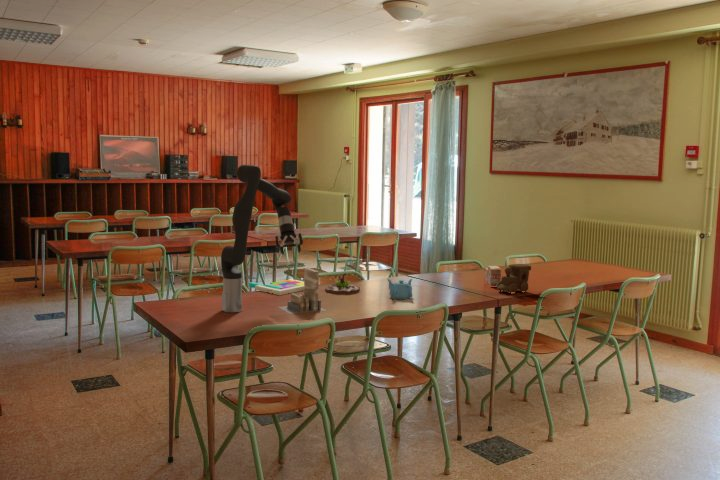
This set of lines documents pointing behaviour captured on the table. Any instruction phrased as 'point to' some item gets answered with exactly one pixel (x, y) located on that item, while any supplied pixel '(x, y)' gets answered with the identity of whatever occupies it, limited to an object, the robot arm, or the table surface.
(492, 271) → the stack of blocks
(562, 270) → the table surface
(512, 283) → the wooden toy train
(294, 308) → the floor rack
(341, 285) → the plant
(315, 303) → the birch panel
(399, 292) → the teapot
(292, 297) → the pine offcuts
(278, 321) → the table surface
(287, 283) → the puzzle game
